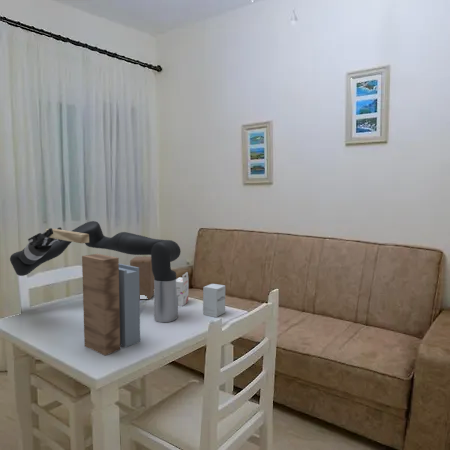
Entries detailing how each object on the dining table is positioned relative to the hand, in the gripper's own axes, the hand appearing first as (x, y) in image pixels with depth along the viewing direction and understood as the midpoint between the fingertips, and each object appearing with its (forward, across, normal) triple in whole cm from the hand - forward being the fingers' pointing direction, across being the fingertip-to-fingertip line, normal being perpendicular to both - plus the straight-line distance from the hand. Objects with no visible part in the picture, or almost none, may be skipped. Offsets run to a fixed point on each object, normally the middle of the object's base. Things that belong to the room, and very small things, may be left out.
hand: (56, 230), depth 145 cm
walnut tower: (+5, 0, +47) cm, 48 cm away
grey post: (+5, +8, +47) cm, 48 cm away
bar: (+5, 0, +6) cm, 8 cm away
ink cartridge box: (-8, +54, +41) cm, 68 cm away
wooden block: (-27, +49, +30) cm, 63 cm away
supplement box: (+11, +52, +52) cm, 74 cm away
